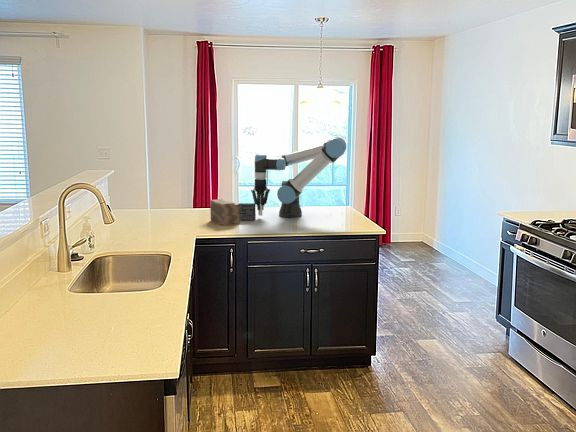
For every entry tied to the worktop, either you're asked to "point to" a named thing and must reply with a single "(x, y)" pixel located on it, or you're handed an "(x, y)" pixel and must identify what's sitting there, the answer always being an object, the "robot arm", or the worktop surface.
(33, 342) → the worktop surface
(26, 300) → the worktop surface
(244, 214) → the small box
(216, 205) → the brown patterned block
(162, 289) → the worktop surface
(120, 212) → the worktop surface
